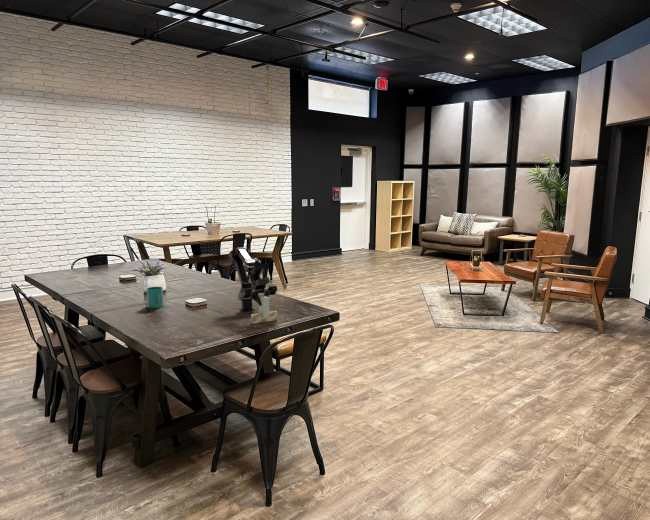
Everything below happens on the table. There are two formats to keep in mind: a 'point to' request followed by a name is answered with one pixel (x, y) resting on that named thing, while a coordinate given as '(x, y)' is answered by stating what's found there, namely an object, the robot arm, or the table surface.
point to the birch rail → (258, 319)
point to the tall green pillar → (264, 307)
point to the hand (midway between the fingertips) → (264, 305)
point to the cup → (155, 297)
